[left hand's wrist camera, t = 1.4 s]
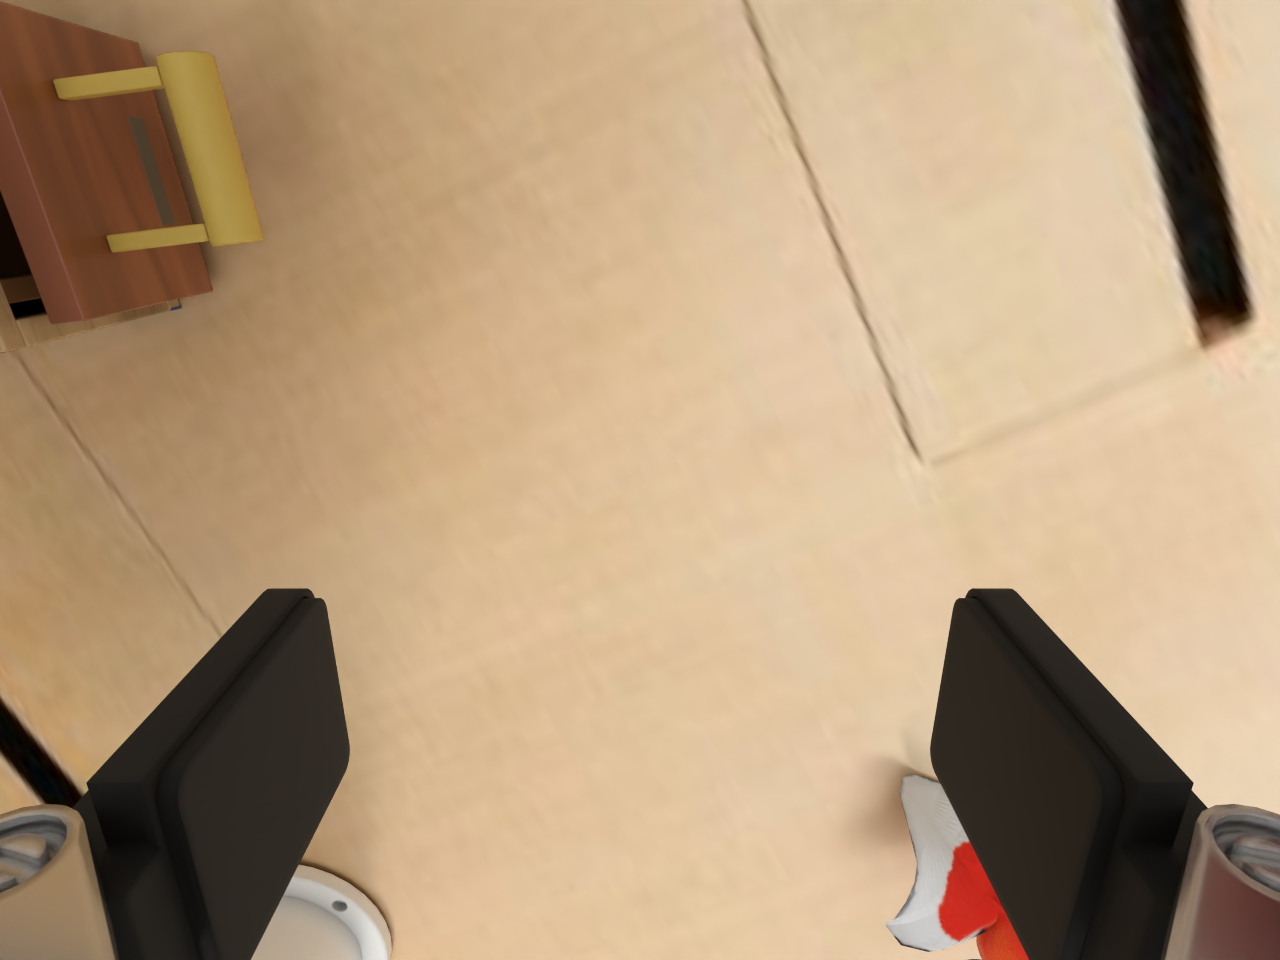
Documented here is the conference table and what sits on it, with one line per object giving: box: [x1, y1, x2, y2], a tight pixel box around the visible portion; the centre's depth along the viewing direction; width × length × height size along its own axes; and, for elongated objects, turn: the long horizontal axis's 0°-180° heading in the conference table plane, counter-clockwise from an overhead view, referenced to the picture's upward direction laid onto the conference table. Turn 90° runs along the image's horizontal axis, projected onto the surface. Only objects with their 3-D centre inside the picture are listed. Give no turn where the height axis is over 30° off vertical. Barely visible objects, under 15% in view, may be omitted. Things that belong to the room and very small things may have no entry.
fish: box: [885, 775, 1029, 960], centre depth 42 cm, size 11×16×10 cm
